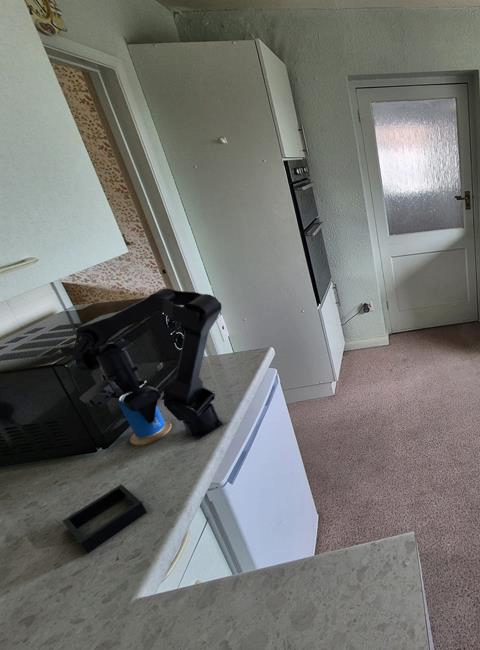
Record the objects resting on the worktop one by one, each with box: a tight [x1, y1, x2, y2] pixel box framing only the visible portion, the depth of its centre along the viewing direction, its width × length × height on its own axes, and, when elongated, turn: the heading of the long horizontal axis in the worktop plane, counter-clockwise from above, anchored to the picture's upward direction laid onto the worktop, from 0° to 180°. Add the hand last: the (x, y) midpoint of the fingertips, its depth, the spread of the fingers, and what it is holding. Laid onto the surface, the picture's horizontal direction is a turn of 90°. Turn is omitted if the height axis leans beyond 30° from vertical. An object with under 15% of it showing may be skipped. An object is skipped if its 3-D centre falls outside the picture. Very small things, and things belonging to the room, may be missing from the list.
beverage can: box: [118, 393, 165, 438], centre depth 99 cm, size 6×6×12 cm
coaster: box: [129, 419, 173, 447], centre depth 102 cm, size 9×9×1 cm
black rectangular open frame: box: [62, 484, 148, 554], centre depth 77 cm, size 10×10×3 cm
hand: (143, 417), depth 100 cm, fingers open, 9 cm apart
